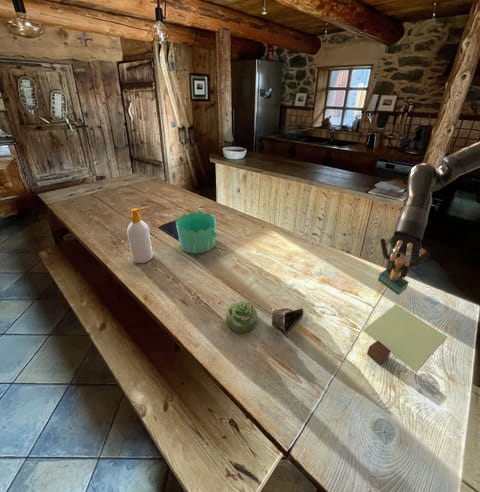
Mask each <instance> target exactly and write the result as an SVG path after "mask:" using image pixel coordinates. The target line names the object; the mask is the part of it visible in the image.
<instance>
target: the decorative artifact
mask: <svg viewBox="0 0 480 492" xmlns="http://www.w3.org/2000/svg"><path fill="white" fill-rule="evenodd" d="M225 319H226V324H227V326H228V327H229V329H231V330H233V331H234V332H237V333H246V332H249V331H252V330H253V329H254V328H255V327H256V325H257V321H258V313H257V309H256V307H255V306H254V305H253V304H252V303H251V302H250V301H246V302H245V301H238V302H235V303H231V304H230V306H229V307H228V308H227V310H226V318H225Z"/></svg>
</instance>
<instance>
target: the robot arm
mask: <svg viewBox="0 0 480 492" xmlns="http://www.w3.org/2000/svg"><path fill="white" fill-rule="evenodd" d="M479 168H480V140H479V141H477V142H474V143H473V144H470V145H468V146H465V147H463V148H461V149H459V150H456V151H454V152H453V153H450V154H449V155H446V156H445V157H444V158H443V160H442V164H441V166H440V167H439V168H435V166H434V165H433V164H431V163H428V162H420V163H417V164H416V165H415V166H414V167H412V168H411V170H410V172H409V174H408V178H407V183H406V184H407V185H406V186H407V187H406V195H405V199H404V202H403V205H402V207H401V210H400V212H399V215H398V217H397V221H396V223H395V227H394V229H393V232H392V235H391V236H389V238H384V237H381V238H380V240H379V243H380V248H381V252H382V257H383V259H384V260H386V261H388V264H387V267H386V269H385V270H386V272H388V275H391V272H392V269H393V265H394V262H395V259H396V258H397V256H398V255H402V256H404V260H405V262H404V265H403V268H402V271H401V274H400V277H399V279H402V278H403V279H405V278H406V277H407V274H408V271H409V269H415V268H417V267H418V266H420V264H422V263H423V262H424V261H425V260H426V259H428V257H430V255H431V252H430V251H428V250H425V249H424V248H423V246H422V241H423V237H424V233H425V230H426V227H427V225H428V220H429V213H430V210H431V206H432V203H433V197H432V194H431V193H433V192H437V191H438V190H441V189H442V188H444V187H445V186H447V185H449V184H450V183H451V182H453V181H454V180H457V178H458V177H460V176H462V175H465V174H467V173H470V172H472V171H475V170H476V169H479ZM389 244H390V246H391V248H392V250H393V251H392V253H391V255H389V253H388V246H389ZM418 252H419V253H418ZM417 253H418V256H419V257H418V258H417V259H416V260H414V261H413V262H411V259H412V258H411V257H412V256H413V255H415V254H417Z"/></svg>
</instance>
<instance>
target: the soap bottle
mask: <svg viewBox="0 0 480 492" xmlns="http://www.w3.org/2000/svg"><path fill="white" fill-rule="evenodd" d="M148 209H149V208H148V207H139V208H137V207H135V208H133V207H132V208H131V209H130V210H131V216H130V219H131V222H130V223H129V225H128V226H127V229H126V234H127V239H128V244H129V249H130V250H129V251H130V254H131V259H132V261H133V262H134V263H135V264H145V263H147V262H149V261H151V259H152V258H153V256H154V254H153V253H154V252H153V246H152V240H151V234H150V228H149V225H148V224H147V223H146V222H145V221H144V220H142V218H141V214H139V212H140V211H143V210H148Z"/></svg>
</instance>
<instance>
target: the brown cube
mask: <svg viewBox="0 0 480 492" xmlns="http://www.w3.org/2000/svg"><path fill="white" fill-rule="evenodd" d="M366 355H367V356H368V357H369V358H370V359H371V360H373V361H374V363H376V364H377V365H378V366H381V365H382V364H383V363H384V362H386V361H387V360H389V358H390V356H391V351H390V350H389V349H388V348H387V347H386V346H384V345H383V344H382V343H381V342H380V341H376V340H375V342H373V343H371V344H370V345H368V349H367V351H366Z"/></svg>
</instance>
